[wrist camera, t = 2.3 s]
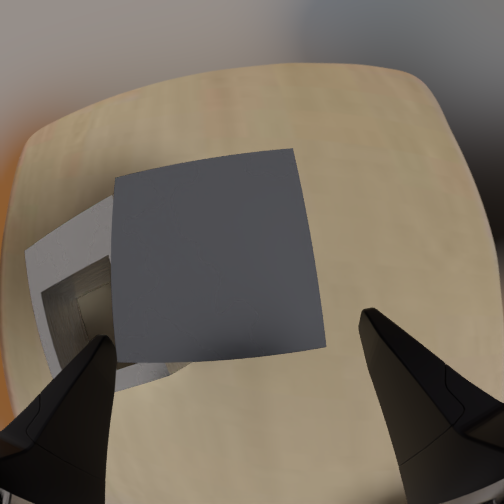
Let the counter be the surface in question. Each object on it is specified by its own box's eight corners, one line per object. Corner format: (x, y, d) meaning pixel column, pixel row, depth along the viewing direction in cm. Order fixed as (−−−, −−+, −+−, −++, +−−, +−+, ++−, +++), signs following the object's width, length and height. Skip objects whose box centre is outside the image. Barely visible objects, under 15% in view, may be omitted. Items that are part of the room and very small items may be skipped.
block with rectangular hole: (191, 362, 18) (170, 375, 13) (96, 392, 17) (63, 404, 13) (139, 218, 20) (112, 194, 16) (58, 262, 20) (24, 250, 15)
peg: (285, 326, 18) (326, 347, 6) (211, 334, 18) (117, 362, 6) (276, 253, 19) (293, 148, 7) (204, 262, 19) (115, 177, 7)
